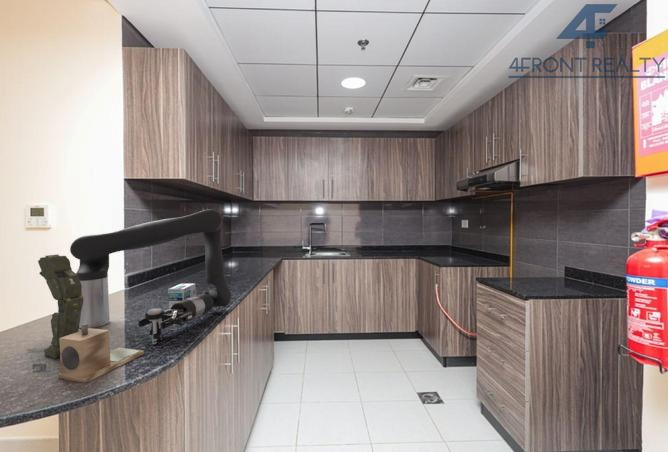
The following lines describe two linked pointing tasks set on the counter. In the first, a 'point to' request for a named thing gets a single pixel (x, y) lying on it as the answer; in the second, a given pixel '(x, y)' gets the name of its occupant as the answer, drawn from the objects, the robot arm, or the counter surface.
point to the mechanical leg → (62, 298)
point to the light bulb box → (181, 293)
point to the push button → (155, 323)
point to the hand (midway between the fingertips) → (150, 324)
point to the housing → (90, 355)
